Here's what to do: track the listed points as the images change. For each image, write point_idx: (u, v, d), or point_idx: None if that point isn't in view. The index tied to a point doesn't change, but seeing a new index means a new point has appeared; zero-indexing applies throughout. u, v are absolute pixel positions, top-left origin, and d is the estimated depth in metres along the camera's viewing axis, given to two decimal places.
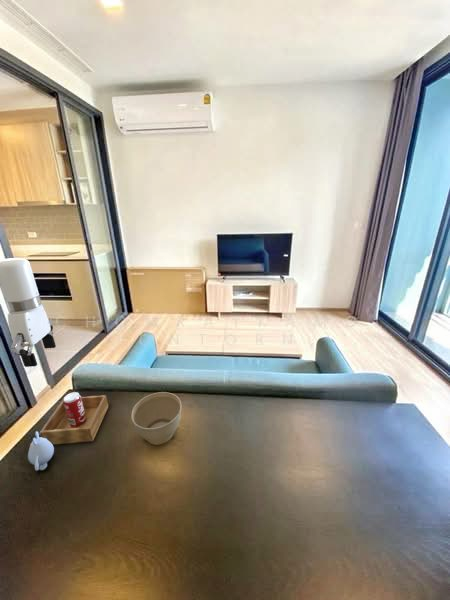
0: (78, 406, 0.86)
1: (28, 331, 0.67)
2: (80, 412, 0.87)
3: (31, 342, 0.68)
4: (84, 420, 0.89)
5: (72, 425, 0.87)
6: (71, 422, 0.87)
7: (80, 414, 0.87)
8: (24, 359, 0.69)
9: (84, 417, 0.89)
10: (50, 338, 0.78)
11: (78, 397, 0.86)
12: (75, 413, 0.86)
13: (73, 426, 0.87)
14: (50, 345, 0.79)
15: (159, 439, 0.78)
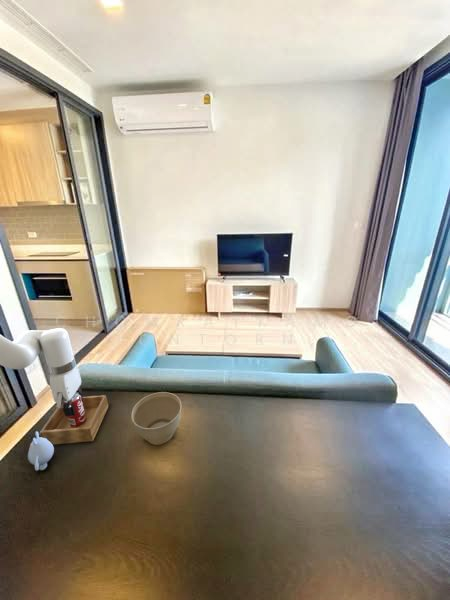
0: (78, 406, 0.86)
1: (66, 390, 0.80)
2: (80, 412, 0.87)
3: (68, 398, 0.81)
4: (84, 420, 0.89)
5: (72, 425, 0.87)
6: (71, 422, 0.87)
7: (80, 414, 0.87)
8: (66, 410, 0.83)
9: (84, 417, 0.89)
10: None
11: (78, 397, 0.87)
12: None
13: (73, 426, 0.87)
14: None
15: (159, 439, 0.78)
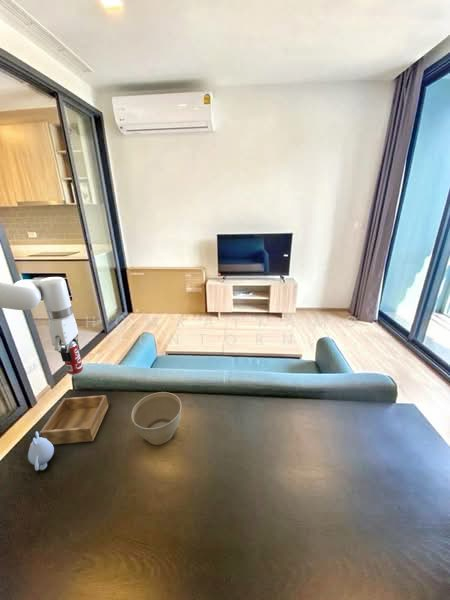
0: (75, 353, 0.92)
1: (63, 334, 0.86)
2: (77, 359, 0.94)
3: (65, 342, 0.87)
4: (81, 368, 0.96)
5: (69, 371, 0.94)
6: (68, 368, 0.93)
7: (77, 361, 0.94)
8: (63, 355, 0.89)
9: (81, 365, 0.96)
10: None
11: (75, 345, 0.93)
12: (72, 359, 0.92)
13: (70, 372, 0.94)
14: None
15: (159, 439, 0.78)
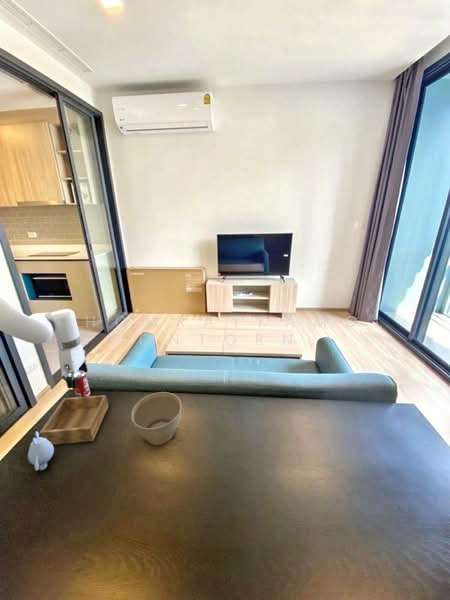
0: (84, 382, 0.99)
1: (72, 363, 0.92)
2: (85, 387, 1.00)
3: (74, 370, 0.93)
4: (89, 395, 1.02)
5: None
6: (77, 396, 1.00)
7: (85, 389, 1.00)
8: (68, 383, 0.93)
9: (89, 392, 1.02)
10: (84, 365, 1.03)
11: (84, 374, 0.99)
12: (81, 388, 0.99)
13: None
14: (83, 370, 1.04)
15: (159, 439, 0.78)
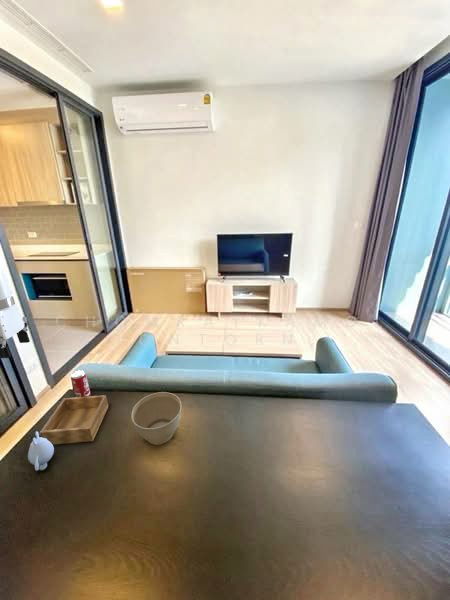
0: (84, 382, 0.99)
1: (2, 327, 0.78)
2: (85, 387, 1.00)
3: (5, 337, 0.79)
4: (89, 395, 1.02)
5: None
6: (77, 396, 1.00)
7: (85, 389, 1.00)
8: None
9: (89, 392, 1.02)
10: (24, 334, 0.89)
11: (84, 374, 0.99)
12: (81, 388, 0.99)
13: None
14: (24, 340, 0.89)
15: (159, 439, 0.78)
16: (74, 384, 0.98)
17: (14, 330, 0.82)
